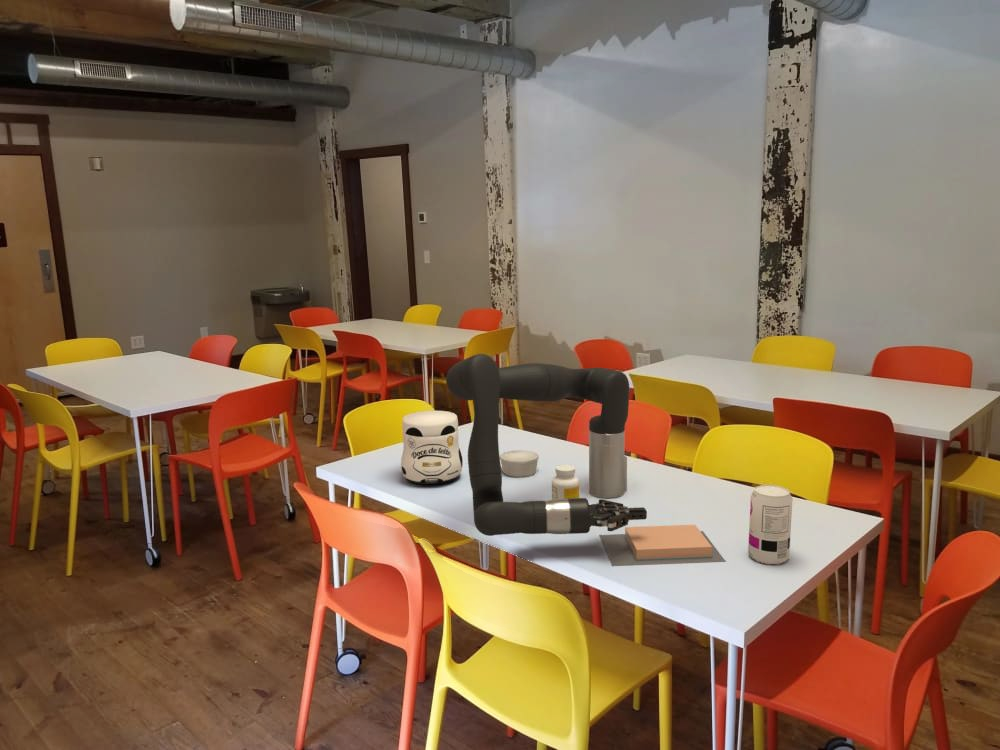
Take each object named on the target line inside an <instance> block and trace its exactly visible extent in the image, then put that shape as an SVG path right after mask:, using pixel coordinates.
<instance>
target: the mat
mask: <svg viewBox="0 0 1000 750" xmlns="http://www.w3.org/2000/svg"><path fill="white" fill-rule="evenodd" d="M700 532H701V533H702V534H703V536H704V537H705V538H706V540H707V541H708V542H709V544H710V545H711V546H712V558H696V559H670V560H644V561H636V559H635V557H634V555H633V553H632V551H631V549H630V547H629V545H628V543H627V541H626V539H625V533H618V534H617V533H616V534H615V533H613V534H599V535H598V537H599V538H600V540H601V543H602V546H603V548H604V550H605V553H606V555H607V557H608V559H609V560H608V561H610V564H611V567H623V566H624V567H626V566H651V565H653V566H655V565H675V564H676V565H679V564H680V565H681V564H703V563H705V564H706V563H708V564H709V563H726V562H727V561H726V560H725V558H724V557H723V556H722V554H721V553H720V551H718V549H717V548H716V547H715V545H714V543H713V542H712V541H711V540H710V538H709V537H708V536H707V534H705V532H704V531H703V530H700Z"/></svg>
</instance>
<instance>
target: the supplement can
mask: <svg viewBox="0 0 1000 750" xmlns="http://www.w3.org/2000/svg"><path fill="white" fill-rule="evenodd" d="M792 513H793V497H792V495H791V492H790V490H789V489H787V488H785V487H783V486H780V485H775V484H762V485H757V486H755V487H754V489H753V491H752V493H751V494H750V506H749V525H748V526H749V529H748V545H747V546H748V547H747V552H748V555H749V556H750V557H751V558H752V560H754V559H755V560H756V561H755V560H754V561H755V562H758V563H760V562H761V563H760V564H764V563H765V565H771V564H776V565H781V563H782V564H784V563H785V562H787V561H788V560H789V558H790V547H791V532H792V531H791V529H792V515H793V514H792ZM783 562H784V563H783Z"/></svg>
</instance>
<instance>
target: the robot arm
mask: <svg viewBox="0 0 1000 750" xmlns="http://www.w3.org/2000/svg"><path fill="white" fill-rule="evenodd" d="M445 378H446V379H445V382H446V387H447V388H448V391H449V392H450V393H451V394H452V395H453V396H454V397H456V398H458V399H459V400H463V401H473V405H474V407H473V409H474V414H473V416H474V417H473V424H472V428H471V429H472V430H471V434H470V438H469V442H468V448H467V463H468V474H469V475H468V476H469V482H470V487H471V488H470V489H471V491H472V508H473V509H472V510H473V511H472V512H473V524H474V526H475V528H476V529H477V531H478V532H479V533H480V534H482V535H484V536H489V537H493V536H499V535H501V536H502V535H509V534H510V535H512V534H523V535H524V534H525V535H541V534H545V535H546V534H548V535H549V534H551V535H573V534H574V535H575V534H579V535H580V534H588V533H589V532H590V530H591V527H599V528H602V527H604V528H605V527H607V532H614V531H616V530H619V529H621V528H625V527H627V526H628V525H629V522H630V521H638V520H642V521H643V520H646V519H647V517H648V515H647V514H648V512H647V510H646V508H645V507H643V506H642V507H628V506H626V505H624V504H623V503H622V502H616V501H612V500H611V501H610V500H608V499H612V498H619V497H620V496H623V495H624V494H625V492H627V490H628V488H627V486H628V479H627V478H628V457H627V456H626V455H625V449H626V448H625V447H626V446H625V443H626V442H625V441H626V440H625V439H626V438H625V437H626V429H625V427H626V423H627V420H628V415H629V402H630V382H629V378H628V377H627V375H626V374H625V373H624V372H622V371H619V370H616V369H615V370H614V369H609V368H605V367H590V368H589V367H588V368H587V367H586V368H570V367H566V366H563V365H557V364H552V363H551V364H550V363H541V362H539V363H538V362H535V363H533V362H532V363H522V364H516V365H515V364H514V365H509V366H504V367H499V366H498V364H497V363H496V361H495V360H494V359H493V357H491V356H490V355H488V354H486V353H478V354H473V355H471V356H469V357H467V358H464V359H462V360H459V361H458V362H457V363H454V364H453V365H452V367H450V368H449V370H448V372H447V373H446V377H445ZM566 398H575V399H582V400H586V401H590V402H593V403H597V404H600V405H601V409H600V411H601V412H600V414H599V415H595V416H592V417H591V418H590V419H589V422H588V440H589V441H588V493H589V494H590V495H592V496H594V497H596V498H600V499H598V503H592V504H590V503H589V501H588V499H587V498H586V497H579V498H569V499H552V498H551V499H548V500H529V501H528V500H527V501H522V502H520V501H519V502H516V501H504V498H503V497H504V496H503V491H502V490H503V489H502V487H503V475H502V464H501V460H500V448H499V418H500V417H499V413H500V399H504V400H514V401H515V400H516V401H524V402H525V401H528V402H542V403H543V402H545V403H546V402H547V403H552V402H558V401H561V400H564V399H566ZM601 498H603V499H601Z"/></svg>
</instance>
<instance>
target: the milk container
mask: <svg viewBox="0 0 1000 750" xmlns="http://www.w3.org/2000/svg"><path fill="white" fill-rule="evenodd" d="M401 424H402V427H401V428H402V440H403V441H402V443H403V450H402V455H401V459H400V468H401V471H402V476H403V477H404V478H405V479H406V480H408V481H409V482H412V483H415V484H419V485H436V484H437V485H439V484H444V483H448V482H450V481H454V480H455V479H457V478H458V477H459V476H460V475H461V473H462V471H463V455H462V452H461V447H460V443H459V437H460V436H459V433H460V432H459V420H458V415H457V414H455V413H454V412H451V411H445V410H423V411H416V412H412V413H408V414H406V415H404V416H403V418H402V423H401Z"/></svg>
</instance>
